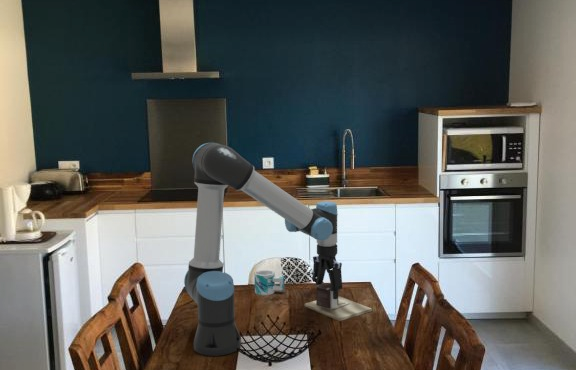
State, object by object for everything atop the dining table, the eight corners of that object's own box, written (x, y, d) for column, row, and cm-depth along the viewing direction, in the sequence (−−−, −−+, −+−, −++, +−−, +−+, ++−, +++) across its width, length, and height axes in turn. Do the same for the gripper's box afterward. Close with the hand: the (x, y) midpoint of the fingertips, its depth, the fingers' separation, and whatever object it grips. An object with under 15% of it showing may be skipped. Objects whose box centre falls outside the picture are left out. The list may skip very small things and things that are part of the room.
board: (339, 321, 213) (339, 318, 213) (304, 306, 229) (304, 303, 229) (371, 311, 223) (371, 308, 222) (336, 297, 239) (336, 294, 238)
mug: (259, 288, 252) (258, 269, 251) (286, 290, 248) (286, 270, 247) (252, 294, 244) (252, 274, 243) (280, 296, 241) (280, 276, 239)
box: (325, 301, 227) (325, 282, 226) (338, 304, 223) (338, 285, 222) (316, 305, 222) (315, 286, 221) (329, 309, 218) (329, 289, 217)
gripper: (353, 247, 214) (352, 309, 217) (317, 237, 229) (318, 295, 233) (337, 250, 209) (337, 313, 212) (302, 240, 225) (302, 299, 228)
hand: (327, 304), depth 223 cm, fingers closed on box, 7 cm apart
